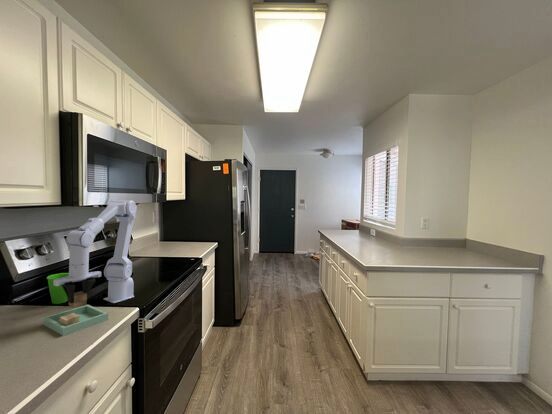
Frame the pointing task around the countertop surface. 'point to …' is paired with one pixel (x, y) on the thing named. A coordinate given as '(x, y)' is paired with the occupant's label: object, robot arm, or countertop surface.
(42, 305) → the countertop surface
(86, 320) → the tray
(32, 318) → the countertop surface
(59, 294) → the cup
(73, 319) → the beech block in tray
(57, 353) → the countertop surface
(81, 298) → the walnut block
